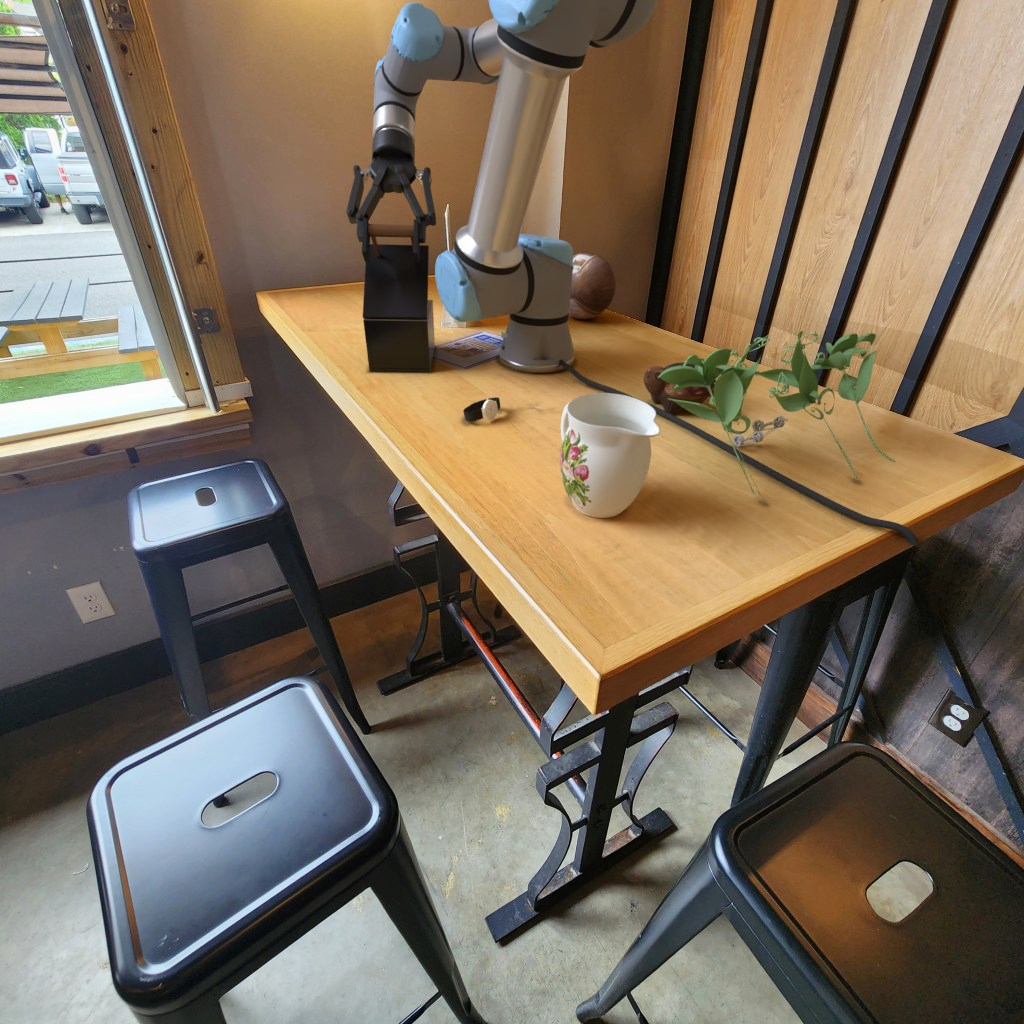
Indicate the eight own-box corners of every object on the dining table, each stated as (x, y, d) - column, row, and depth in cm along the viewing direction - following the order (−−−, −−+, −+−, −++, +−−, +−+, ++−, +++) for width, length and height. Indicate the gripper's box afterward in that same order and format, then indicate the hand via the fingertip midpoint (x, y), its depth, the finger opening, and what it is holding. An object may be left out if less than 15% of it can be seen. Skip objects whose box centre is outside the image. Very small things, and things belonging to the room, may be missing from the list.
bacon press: (367, 246, 107) (357, 213, 99) (428, 248, 108) (424, 215, 100) (363, 319, 103) (353, 290, 95) (427, 319, 104) (422, 291, 96)
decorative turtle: (624, 402, 101) (633, 357, 97) (694, 397, 106) (705, 354, 102) (655, 422, 93) (666, 374, 89) (729, 416, 98) (742, 370, 94)
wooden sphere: (544, 322, 138) (548, 256, 130) (559, 306, 150) (564, 245, 141) (605, 330, 134) (613, 262, 126) (616, 313, 146) (624, 250, 138)
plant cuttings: (857, 492, 91) (801, 372, 97) (960, 446, 75) (886, 307, 81) (674, 536, 80) (622, 398, 86) (750, 493, 64) (681, 327, 70)
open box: (380, 346, 121) (375, 298, 115) (434, 347, 121) (432, 299, 116) (369, 372, 109) (363, 320, 103) (430, 372, 110) (427, 321, 104)
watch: (478, 429, 90) (477, 408, 88) (456, 420, 93) (455, 399, 91) (507, 413, 96) (507, 392, 94) (485, 405, 98) (485, 385, 96)
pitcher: (591, 460, 83) (602, 369, 75) (671, 526, 70) (695, 425, 62) (525, 475, 79) (530, 382, 71) (597, 549, 66) (612, 444, 58)
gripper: (452, 161, 107) (452, 271, 103) (340, 158, 106) (335, 269, 102) (450, 127, 100) (450, 245, 96) (329, 124, 98) (324, 242, 95)
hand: (391, 257), depth 99 cm, fingers closed on bacon press, 8 cm apart
